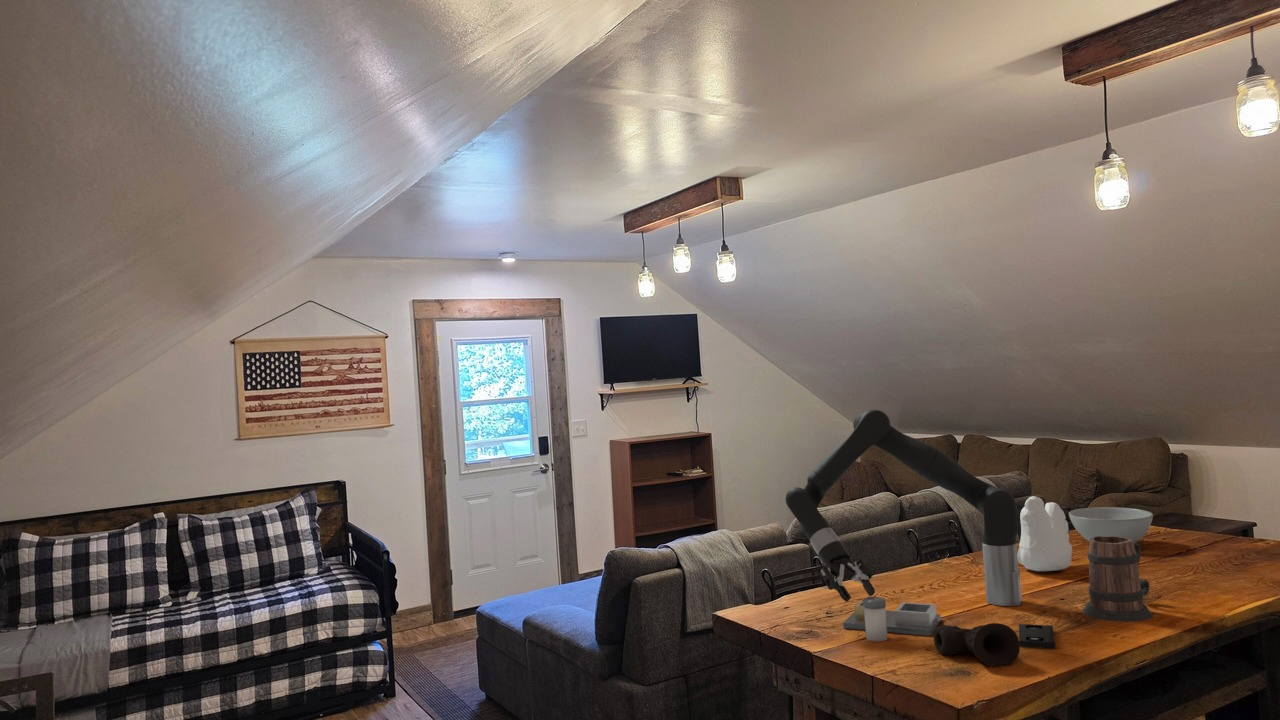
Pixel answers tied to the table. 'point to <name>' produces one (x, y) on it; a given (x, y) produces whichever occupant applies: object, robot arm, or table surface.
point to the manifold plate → (901, 619)
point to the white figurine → (1044, 537)
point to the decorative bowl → (1111, 522)
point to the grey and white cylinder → (875, 618)
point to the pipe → (980, 642)
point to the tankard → (1116, 581)
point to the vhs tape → (1036, 636)
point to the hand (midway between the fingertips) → (860, 597)
